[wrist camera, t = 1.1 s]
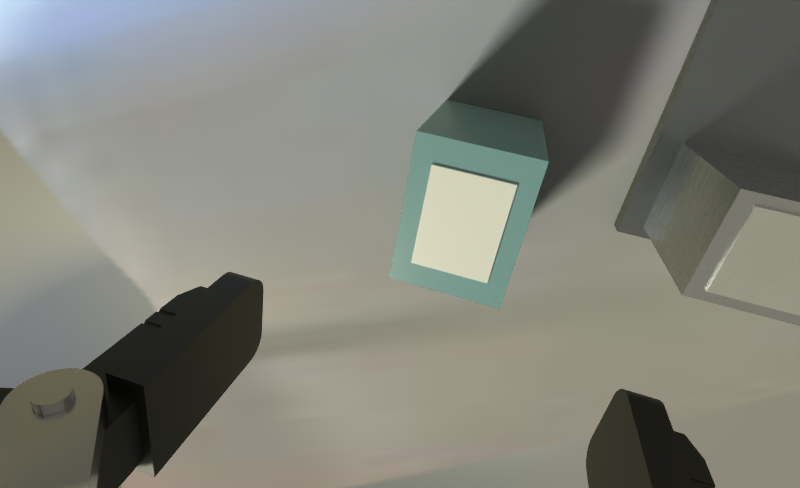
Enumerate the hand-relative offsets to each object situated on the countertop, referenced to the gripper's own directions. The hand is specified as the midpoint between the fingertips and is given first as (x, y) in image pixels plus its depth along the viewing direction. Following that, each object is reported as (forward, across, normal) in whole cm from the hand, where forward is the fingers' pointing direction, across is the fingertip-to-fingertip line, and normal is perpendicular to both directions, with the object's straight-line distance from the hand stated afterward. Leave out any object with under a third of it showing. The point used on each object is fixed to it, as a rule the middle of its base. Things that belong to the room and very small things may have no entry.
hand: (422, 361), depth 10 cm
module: (+14, 0, 0) cm, 15 cm away
